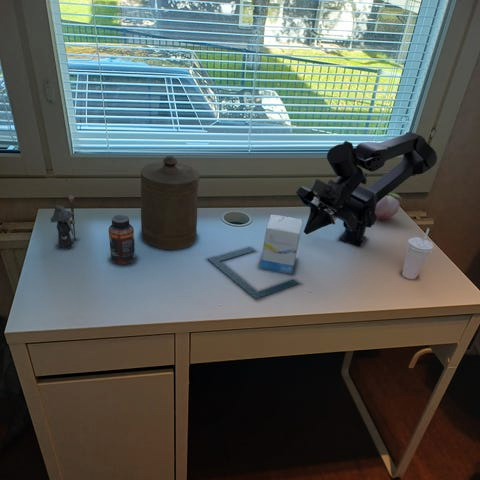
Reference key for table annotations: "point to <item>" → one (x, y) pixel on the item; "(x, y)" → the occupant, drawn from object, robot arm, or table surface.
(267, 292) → the frame
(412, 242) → the smoothie
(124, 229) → the supplement bottle
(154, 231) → the wooden container
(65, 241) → the wizard figurine
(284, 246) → the ink box
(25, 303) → the table surface
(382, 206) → the decorative fruit
